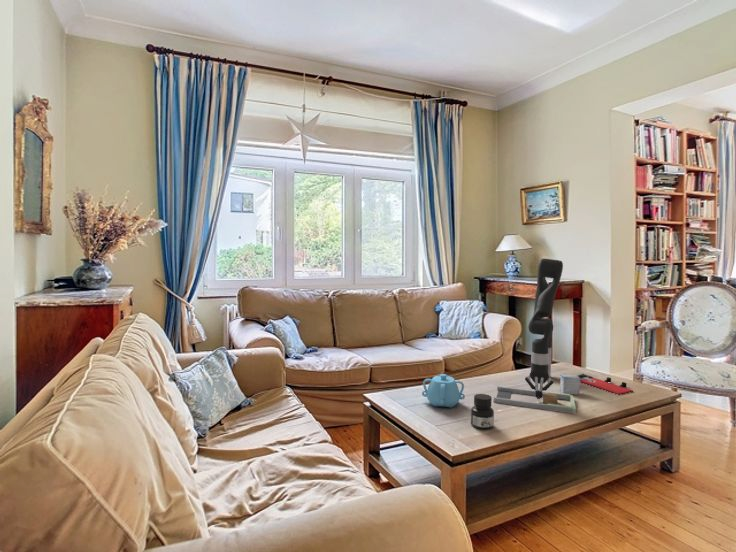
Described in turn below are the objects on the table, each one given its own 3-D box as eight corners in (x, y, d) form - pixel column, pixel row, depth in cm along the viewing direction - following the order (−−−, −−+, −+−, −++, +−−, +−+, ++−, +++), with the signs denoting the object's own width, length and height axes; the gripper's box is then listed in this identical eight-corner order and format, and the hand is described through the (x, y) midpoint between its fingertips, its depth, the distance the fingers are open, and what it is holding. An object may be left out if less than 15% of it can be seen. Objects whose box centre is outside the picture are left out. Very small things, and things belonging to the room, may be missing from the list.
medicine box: (576, 391, 209) (576, 374, 208) (579, 394, 205) (580, 377, 204) (559, 391, 210) (560, 374, 209) (563, 394, 205) (563, 377, 205)
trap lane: (497, 390, 211) (497, 385, 211) (572, 399, 198) (573, 394, 198) (493, 402, 194) (493, 397, 194) (575, 413, 181) (575, 408, 181)
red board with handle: (585, 375, 238) (566, 378, 232) (585, 370, 237) (566, 373, 231) (638, 392, 210) (618, 396, 204) (638, 386, 210) (618, 391, 204)
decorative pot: (418, 400, 196) (418, 372, 195) (446, 395, 203) (446, 367, 203) (439, 412, 182) (439, 382, 181) (468, 406, 189) (468, 377, 188)
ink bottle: (472, 430, 164) (472, 400, 163) (468, 420, 173) (468, 392, 172) (497, 430, 164) (497, 400, 163) (491, 421, 172) (492, 393, 172)
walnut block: (542, 401, 197) (543, 392, 197) (556, 402, 195) (557, 394, 194) (542, 405, 191) (543, 396, 191) (557, 407, 189) (557, 398, 189)
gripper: (555, 361, 195) (553, 397, 196) (525, 358, 200) (523, 393, 201) (555, 365, 188) (554, 403, 189) (524, 362, 193) (523, 399, 194)
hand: (538, 398), depth 195 cm, fingers closed
